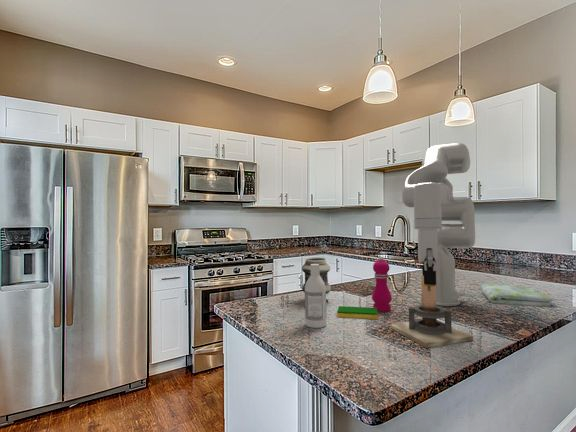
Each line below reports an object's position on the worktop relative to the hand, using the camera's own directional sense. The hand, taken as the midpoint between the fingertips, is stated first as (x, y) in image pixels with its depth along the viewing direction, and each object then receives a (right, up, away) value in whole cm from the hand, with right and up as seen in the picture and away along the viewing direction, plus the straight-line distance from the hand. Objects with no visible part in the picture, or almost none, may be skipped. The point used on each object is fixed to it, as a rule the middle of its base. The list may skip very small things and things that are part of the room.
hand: (429, 280), depth 98 cm
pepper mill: (-7, -16, +26) cm, 31 cm away
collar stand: (0, -16, 0) cm, 16 cm away
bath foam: (-33, -17, +9) cm, 38 cm away
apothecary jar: (-30, -17, +38) cm, 52 cm away
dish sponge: (-17, -17, +19) cm, 31 cm away
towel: (+51, -16, +36) cm, 64 cm away
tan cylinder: (0, -15, 0) cm, 15 cm away
